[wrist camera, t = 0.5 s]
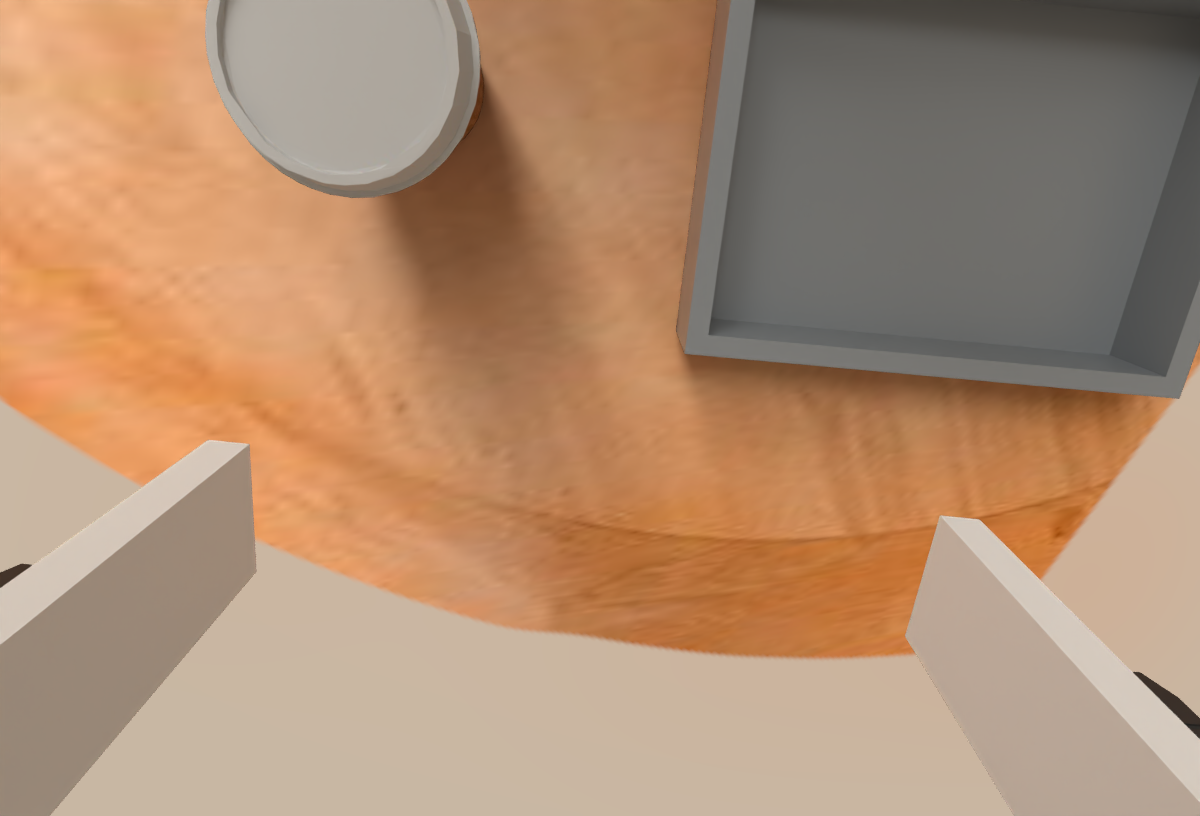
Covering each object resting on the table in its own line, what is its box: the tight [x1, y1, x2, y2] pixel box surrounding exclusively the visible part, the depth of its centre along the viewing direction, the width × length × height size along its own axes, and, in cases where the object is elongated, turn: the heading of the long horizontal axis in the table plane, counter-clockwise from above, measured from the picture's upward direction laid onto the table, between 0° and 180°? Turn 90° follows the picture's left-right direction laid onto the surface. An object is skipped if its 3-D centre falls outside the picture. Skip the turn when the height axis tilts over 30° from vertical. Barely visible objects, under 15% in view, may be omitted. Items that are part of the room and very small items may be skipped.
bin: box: [676, 0, 1200, 399], centre depth 35 cm, size 18×24×5 cm
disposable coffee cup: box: [205, 0, 484, 198], centre depth 30 cm, size 10×10×12 cm
